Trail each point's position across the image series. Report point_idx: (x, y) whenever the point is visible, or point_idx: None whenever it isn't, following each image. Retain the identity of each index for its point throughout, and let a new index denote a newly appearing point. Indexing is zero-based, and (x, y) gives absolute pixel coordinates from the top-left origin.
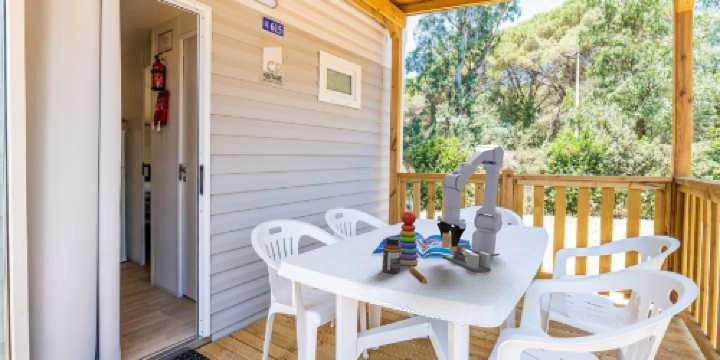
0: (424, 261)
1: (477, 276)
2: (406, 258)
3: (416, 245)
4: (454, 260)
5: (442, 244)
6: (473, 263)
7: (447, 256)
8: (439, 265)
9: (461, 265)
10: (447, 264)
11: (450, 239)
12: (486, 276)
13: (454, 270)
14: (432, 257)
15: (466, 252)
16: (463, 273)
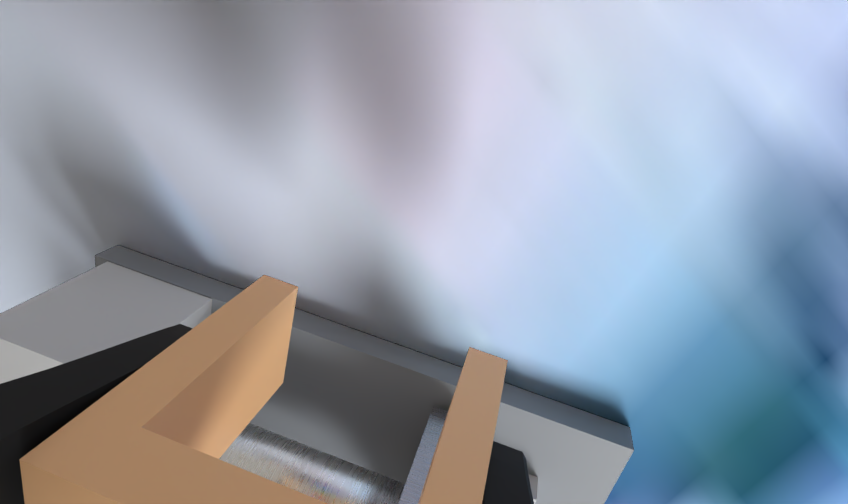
0: (666, 53)
1: (18, 155)
2: None
3: None
4: (408, 363)
5: (482, 390)
6: (78, 287)
7: (542, 417)
8: (417, 102)
9: (297, 310)
10: (400, 227)
11: (139, 407)
12: (9, 227)
13: (210, 107)
14: (713, 317)
15: (238, 465)
16: (110, 109)
